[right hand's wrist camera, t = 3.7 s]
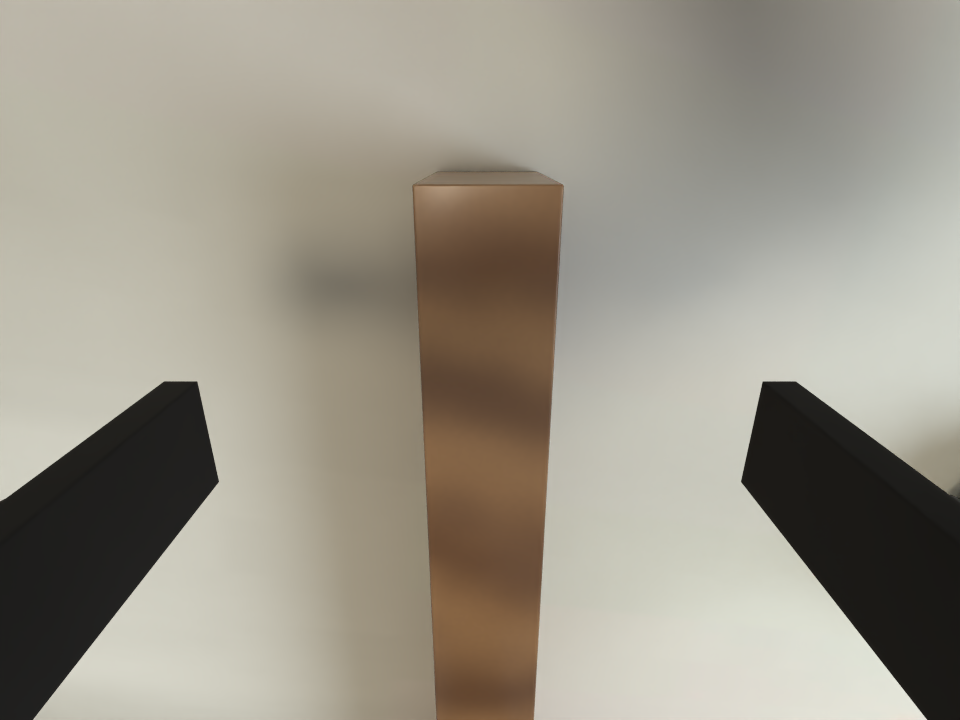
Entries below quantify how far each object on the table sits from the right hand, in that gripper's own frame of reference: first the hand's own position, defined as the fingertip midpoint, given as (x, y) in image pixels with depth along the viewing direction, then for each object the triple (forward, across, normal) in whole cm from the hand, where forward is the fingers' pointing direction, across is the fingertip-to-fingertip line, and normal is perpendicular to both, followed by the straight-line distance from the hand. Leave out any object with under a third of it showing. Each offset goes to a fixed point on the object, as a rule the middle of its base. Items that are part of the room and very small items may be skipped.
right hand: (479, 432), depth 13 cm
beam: (+14, 0, -20) cm, 25 cm away
